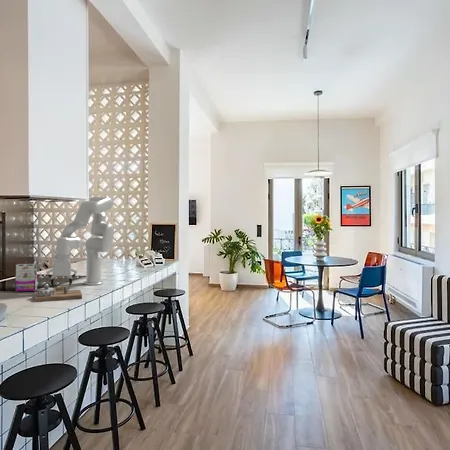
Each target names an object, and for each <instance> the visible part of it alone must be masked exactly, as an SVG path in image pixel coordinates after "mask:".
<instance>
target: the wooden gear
mask: <svg viewBox="0 0 450 450" xmlns="http://www.w3.org/2000/svg"><path fill="white" fill-rule="evenodd" d="M64 286H65V285H58V286H56V287H55V291H64ZM66 286H67V291H68V290H70V287H69V286H70V285H69V286H68V285H66Z"/></svg>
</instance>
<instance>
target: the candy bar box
mask: <svg viewBox="0 0 450 450" xmlns="http://www.w3.org/2000/svg"><path fill="white" fill-rule="evenodd" d="M14 270H15V278H14V279H15V288H14V289H15V293H19V292H21V293H22V292H37V289H38V263H16V264H15V269H14Z"/></svg>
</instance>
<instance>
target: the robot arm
mask: <svg viewBox="0 0 450 450" xmlns="http://www.w3.org/2000/svg"><path fill="white" fill-rule="evenodd" d="M78 207H79V208H78V211H77V212H76V214H75V217H74V218H73V220H72V221H71V222H70V223H68V225H66V226H65V227H64V228H63V230H62V232H61V234H60V236H59V237H57V238H56V243H55V245H56V247H55V248H56V249H55V254H54V255H52V256H53V258H54V261H53V266H52V268H51V269H49V270H47V271H45V273H46V275H47V277H48V278H49V279H50V285H51V286H52V287H54V282H55V281H54V280H55V279H54V278H56V277H68V278H69V279H68V280H69V282H68V285H69V286H71V285H72V283H73V278H74V277H75V276H76V275H77V273H78V271H77V270H75V269H73V268H72V262H71V261H72V260H71V259H70V250H71V249H72V250H76V249H79V248H81V246H82V245H83V240H82V239H81V238H80V237H78V236H72V235H73V233H74V232H76V231H78V230H80V229H82V228H85V227H86V226H88V224H89V221H90V218H91V216H92V215H93V218H92V222H91V228H90V234H91V235H92V236H93V237H89V238H87V239H86V241H85V244H84V246H85V247H84V248H85V251H86V268H85V269H86V270H85V272H86V274H85V275H86V278H85V279H86V280H85V281H83V284H84V285H87V286H97V285H98V286H99V285H102V284H103V283H104V281H103V280H102V278H101V277H102V255H101V253H108V252H109V251H110V250H111V249H112V248H111V247H112V244H113V239H114V234H115V228H114V225H113V224H112V223H109V222H106V219H107V214H106V212H107V211H109V210H110V209H111V208H112V207H113V200H112V198H111V197H108V196H92V197H90V198H88V200H86V201H82V202H81V203H80V205H79V206H78ZM101 237H102V238H101ZM50 273H52V275H51V274H50Z"/></svg>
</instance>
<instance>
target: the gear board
mask: <svg viewBox="0 0 450 450" xmlns="http://www.w3.org/2000/svg"><path fill="white" fill-rule="evenodd" d="M63 286H64V291H56V287H54V288H53V287H49V285H48V284H46V285H44V287H41V288H37V290H36V291H35V296H34V302H35V303H37V302H54V301H55V302H56V301H69V300H82V299H83V294H82V291H81V289H73V290H71V289H69V290H68V291H67V286H68V285H63Z"/></svg>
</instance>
